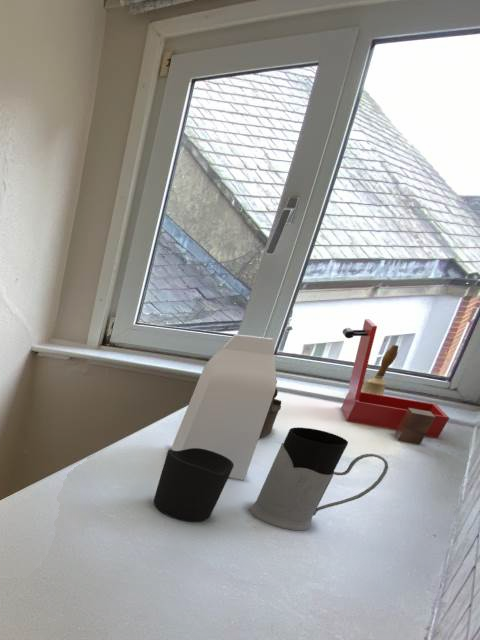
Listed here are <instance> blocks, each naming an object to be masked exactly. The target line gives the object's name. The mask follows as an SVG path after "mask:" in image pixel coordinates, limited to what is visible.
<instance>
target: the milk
mask: <svg viewBox="0 0 480 640" xmlns="http://www.w3.org/2000/svg"><path fill="white" fill-rule="evenodd" d="M276 380H277V370H276V358H275V345H274V339H273V338H272V337H265V336H258V335H257V336H256V335H247V334H239V333H234V334H233V336H231V338H230V339H229V340H228V341H226V343H225V344H224V345H223V346H222V347H221V348H220V349H219V350H218V351H217V352H215V354H214V355H213V356H212V357H211V358H210V359H209V360H208V361H207V362H206V363H205V365H204V366H203V368H202V371H201V373H200V376H199V378H198V381H197V383H196V386H195V388H194V390H193V393H192V395H191V398H190V400H189V403H188V405H187V408H186V410H185V413H184V415H183V418H182V420H181V422H180V425H179V428H178V430H177V432H176V435H175V437H174V440H173V443H172V445H171V450H174V451H181V450H185V449H191V448H200V449H205V450H209V451H212V452H215V453H218V454H220V455H223V456H225V457H226V458H228V459H229V460H231V461H232V462H233V464H234V466H233V469H232V471H231V473H230V475H229V477H228V478H231V479H236V480H240V481H245V479H246V477H247V474H248V470H249V468H250V465H251V463H252V459H253V456H254V454H255V450H256V447H257V445H258V442H259V439H260V438H259V436H260V433H261V431H262V428H263V425H264V422H265V419H266V416H267V413H268V410H269V407H270V405H271V402H272V399H273V396H274V393H275V390H276V388H277V384H276Z"/></svg>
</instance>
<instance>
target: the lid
mask: <svg viewBox="0 0 480 640" xmlns="http://www.w3.org/2000/svg"><path fill="white" fill-rule="evenodd" d="M377 328H378V326H377V325H376V324H375V323H374V322H373V321H372V320H370V319H369V318H366V319H364V322H363V327H362V329H352V328H350V327H346V328H344V329H343V330H342V334H343V336H344V337H345V338H346V339H352V338H354V337H360V338H359V342H358V347H357V351H356V355H355V359H354V363H353V368H352V370H351V376H350V380H349V383H348V390H350V392H351V394H352V396H353V397H354V399H355V400H359V397H360V393H361V389H362V386H363V385H364V382H365V377H366V373H367V369H368V364H369V361H370V356H371V352H372V350H373V349H372V348H373V344H374V341H375V337H376V333H377Z"/></svg>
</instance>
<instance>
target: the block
mask: <svg viewBox="0 0 480 640" xmlns="http://www.w3.org/2000/svg"><path fill="white" fill-rule="evenodd" d="M434 419H435V416H434V415H433V414H432V413H431V412H430V411H424V410H418V409H413V408H408V410H407V411H406V413H405V415H404V417H403V419H402V421H401V422H400V424H399V426H398V428H397V430H395V432H394V434H393V435H394V437H395V439H396V440H397V442H403V443H409V444H414V445H419V446H420V445H421V443H422V442H423V440H424V438H425V437H426V436H425V435H426V433H427V431H428V429H429V428H430V426H431V424H432V422H433V421H434Z"/></svg>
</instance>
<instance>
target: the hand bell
mask: <svg viewBox="0 0 480 640" xmlns="http://www.w3.org/2000/svg"><path fill="white" fill-rule="evenodd" d="M398 352H399V345H398V344H397V345H396V344H392V346H390V348H388V350H387V351H386V352H385V353H384V355H383V357H382V359H381V364H380V367H379V369H378V371H377V372H376V374H375V376H374V377H373V378H369V379H368V378H367V379H366V380H365V381H364V382H363V385H362V389H361V392H365V393H371V394H377V395H383V396H385V390H386V389H385V388H386V386H387V383H386V381H384V380H383V378H384V377H385V374H386V372H387V370H388V369H389V367H390V366H391V365H392V364H393V362H394V361H395V360H396V358H397V356H398Z"/></svg>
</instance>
